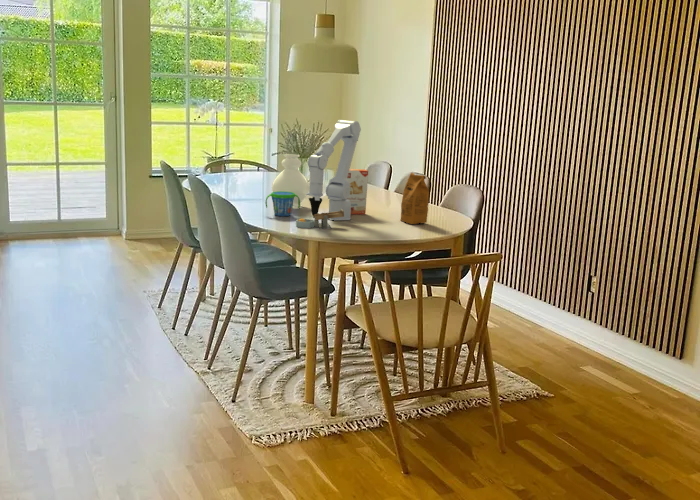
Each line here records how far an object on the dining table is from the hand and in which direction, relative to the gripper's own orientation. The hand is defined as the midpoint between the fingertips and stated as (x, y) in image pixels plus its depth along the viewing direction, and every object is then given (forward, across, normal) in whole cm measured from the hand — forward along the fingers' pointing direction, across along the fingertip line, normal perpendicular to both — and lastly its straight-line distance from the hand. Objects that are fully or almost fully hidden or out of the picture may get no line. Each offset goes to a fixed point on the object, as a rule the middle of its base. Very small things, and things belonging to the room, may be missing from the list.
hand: (314, 214), depth 322 cm
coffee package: (+3, -7, +46) cm, 46 cm away
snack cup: (+4, -18, -12) cm, 23 cm away
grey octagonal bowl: (+4, +6, -5) cm, 9 cm away
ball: (+2, +6, -6) cm, 9 cm away
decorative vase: (+4, -42, -7) cm, 42 cm away
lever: (0, +3, +5) cm, 6 cm away
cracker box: (+4, -26, +20) cm, 33 cm away
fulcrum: (+4, +6, +4) cm, 8 cm away
